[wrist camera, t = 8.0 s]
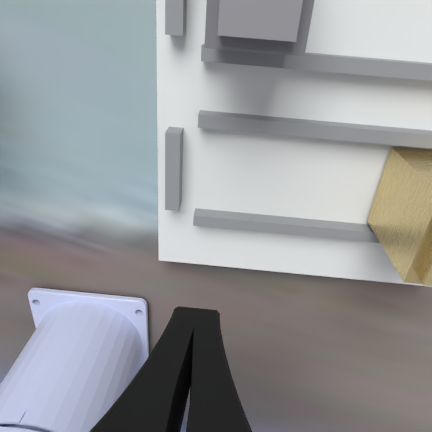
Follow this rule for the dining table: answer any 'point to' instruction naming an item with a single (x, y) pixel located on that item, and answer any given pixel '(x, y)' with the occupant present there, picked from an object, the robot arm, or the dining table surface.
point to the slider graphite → (259, 25)
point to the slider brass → (406, 213)
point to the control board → (288, 137)
